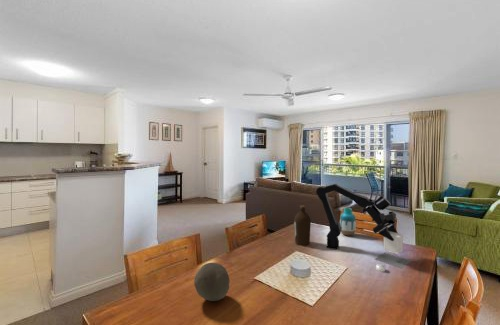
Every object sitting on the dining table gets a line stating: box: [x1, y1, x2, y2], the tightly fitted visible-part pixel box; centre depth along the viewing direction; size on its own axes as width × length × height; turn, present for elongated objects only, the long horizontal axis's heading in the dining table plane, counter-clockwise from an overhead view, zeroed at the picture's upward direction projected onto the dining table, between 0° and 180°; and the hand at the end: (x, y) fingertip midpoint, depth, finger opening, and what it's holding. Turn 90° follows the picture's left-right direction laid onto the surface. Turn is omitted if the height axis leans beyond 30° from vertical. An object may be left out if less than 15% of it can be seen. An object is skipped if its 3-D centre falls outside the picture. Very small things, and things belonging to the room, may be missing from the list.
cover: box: [383, 231, 404, 255], centre depth 137 cm, size 7×7×9 cm
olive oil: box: [293, 205, 312, 247], centre depth 164 cm, size 11×11×25 cm
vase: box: [339, 207, 357, 236], centre depth 179 cm, size 11×11×19 cm
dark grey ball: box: [193, 262, 231, 302], centre depth 103 cm, size 14×14×15 cm
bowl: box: [375, 263, 386, 273], centre depth 127 cm, size 4×4×3 cm
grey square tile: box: [374, 252, 412, 269], centre depth 138 cm, size 14×14×1 cm
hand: (396, 239), depth 136 cm, fingers closed on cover, 7 cm apart
